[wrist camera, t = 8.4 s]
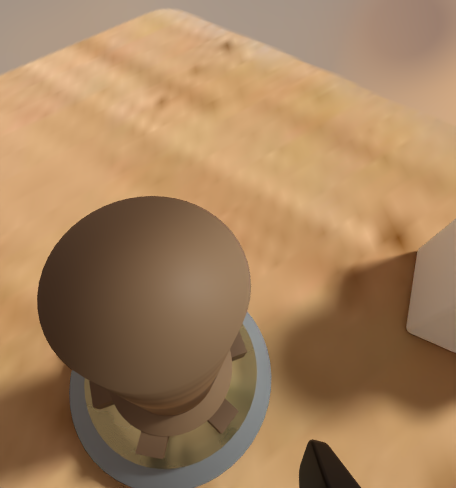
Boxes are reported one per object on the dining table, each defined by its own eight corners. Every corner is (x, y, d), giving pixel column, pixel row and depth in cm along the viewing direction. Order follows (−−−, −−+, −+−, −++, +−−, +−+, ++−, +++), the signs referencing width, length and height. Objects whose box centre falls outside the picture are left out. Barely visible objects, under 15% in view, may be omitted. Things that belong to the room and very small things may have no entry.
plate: (303, 362, 20) (307, 360, 19) (176, 550, 15) (175, 556, 14) (174, 254, 23) (173, 248, 22) (31, 383, 18) (24, 381, 17)
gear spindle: (269, 366, 18) (379, 275, 8) (176, 492, 15) (148, 630, 4) (170, 279, 20) (149, 113, 10) (69, 375, 17) (-126, 281, 6)
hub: (284, 361, 19) (288, 358, 18) (175, 515, 15) (174, 520, 14) (173, 267, 21) (172, 260, 21) (53, 379, 17) (46, 376, 17)
